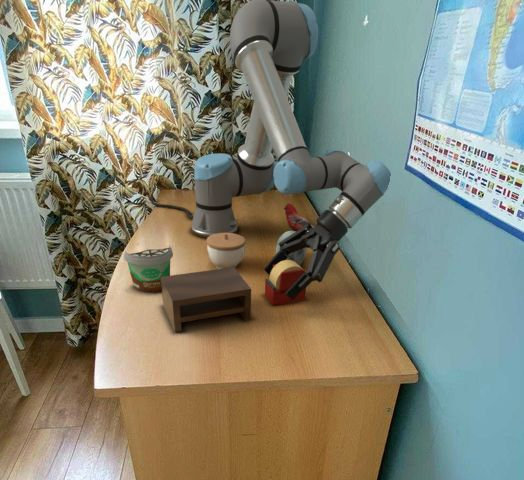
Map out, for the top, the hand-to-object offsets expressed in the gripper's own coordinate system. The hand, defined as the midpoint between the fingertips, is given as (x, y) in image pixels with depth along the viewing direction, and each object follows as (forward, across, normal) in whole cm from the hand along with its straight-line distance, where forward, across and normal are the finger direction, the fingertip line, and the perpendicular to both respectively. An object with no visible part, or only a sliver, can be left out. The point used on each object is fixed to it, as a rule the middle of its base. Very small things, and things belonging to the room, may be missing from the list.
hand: (277, 284), depth 113 cm
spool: (-6, -20, +13) cm, 24 cm away
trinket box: (+7, -23, -1) cm, 24 cm away
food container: (+23, -15, -16) cm, 32 cm away
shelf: (+16, +1, -10) cm, 19 cm away
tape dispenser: (+1, 0, +5) cm, 5 cm away
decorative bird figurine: (-14, -35, +20) cm, 43 cm away
